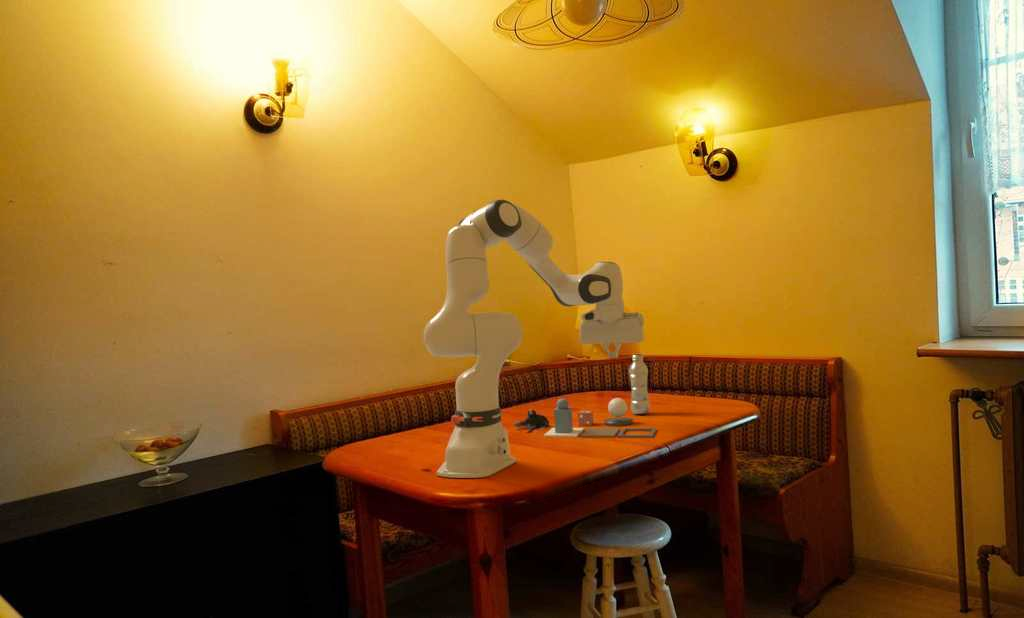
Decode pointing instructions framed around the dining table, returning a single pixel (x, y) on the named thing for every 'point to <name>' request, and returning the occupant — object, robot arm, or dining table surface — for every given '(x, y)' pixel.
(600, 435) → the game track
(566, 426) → the pawn
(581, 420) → the die
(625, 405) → the white ball
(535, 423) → the stuffed animal
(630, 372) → the plastic bottle
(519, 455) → the dining table surface
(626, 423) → the base
